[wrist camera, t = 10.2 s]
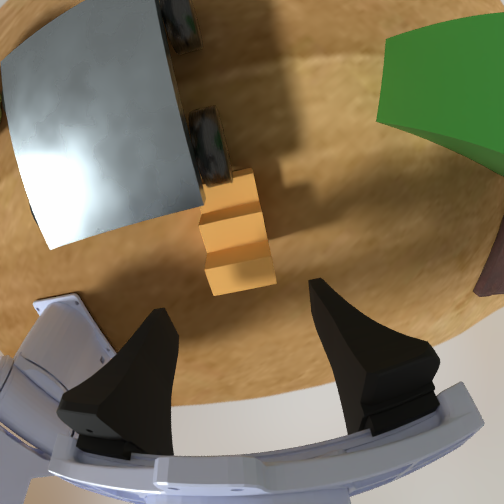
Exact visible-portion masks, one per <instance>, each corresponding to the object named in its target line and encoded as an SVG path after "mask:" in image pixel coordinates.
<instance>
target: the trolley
mask: <svg viewBox="0 0 504 504" xmlns="http://www.w3.org/2000/svg"><path fill="white" fill-rule="evenodd" d="M159 1H160V3H159ZM162 17H163V18H162ZM163 21H164V23H163ZM164 24H165V28H166V31H167V34H168V36H169V39H170V41H171V44H172V46H173V48H174V50H175V51H176V53H177V54H178V55H181V54H184V53H188V52H191V51H195V50H199V49H203V43H202V37H201V32H200V28H199V24H198V19H197V16H196V12H195V8H194V5H193V1H192V0H85V1H83V2H81V3H80V4H78V5H76V6H75V7H73V8H71V9H70V10H68V11H66V12H65V13H63V14H61V15H60V16H58V17H57V18H55V19H54V20H52V21H51V22H49V23H48V24H47V25H45V26H44V27H42V28H41V29H40V30H38V31H37V32H36V33H34V34H33V35H32V36H30V37H29V38H28V39H27V40H25V41H24V42H23V43H22V44H20V45H19V46H18V47H17V48H16V49H14V50H13V51H12V52H11V53H10V54H9V55H8V56H7V57H5V58H4V59H3V60H2V61H1V75H2V86H3V90H2V104H3V108H4V111H5V113H6V115H7V120H8V126H9V130H10V135H11V140H12V144H13V148H14V152H15V156H16V159H17V163H18V167H19V170H20V173H21V177H22V180H23V183H24V186H25V189H26V192H27V195H28V197H29V203H30V209H31V212H32V215H33V217H34V219H35V221H36V223H37V224H38V226H39V227H40V228H41V230H42V233H43V235H44V237H45V239H46V242H47V244H48V246H49V248H50V250H51V249H54V248H57V247H60V246H63V245H66V244H69V243H72V242H75V241H78V240H81V239H84V238H87V237H90V236H94V235H97V234H100V233H103V232H107V231H110V230H113V229H117V228H120V227H124V226H127V225H131V224H134V223H138V222H141V221H145V220H149V219H152V218H156V217H160V216H164V215H167V214H171V213H175V212H179V211H183V210H187V209H191V208H195V207H199V206H204V204H205V201H206V196H205V192H204V188H203V185H202V181H201V177H200V174H201V176H202V179H203V181H204V183H205V185H206V186H207V187H208V188H211V187H215V186H219V185H224V184H228V183H232V182H233V174H232V168H231V163H230V157H229V153H228V148H227V143H226V139H225V135H224V131H223V127H222V123H221V120H220V116H219V113H218V110H217V107H216V105H214V106H210V107H206V108H202V109H198V110H194V111H191V112H190V113H189V129H190V135H189V131H188V127H187V123H186V119H185V115H184V111H183V107H182V103H181V99H180V95H179V90H178V86H177V82H176V78H175V73H174V69H173V65H172V60H171V56H170V51H169V47H168V42H167V37H166V33H165V28H164ZM190 136H191V139H190ZM191 141H192V143H191ZM192 146H193V147H192ZM197 165H198V166H197ZM198 168H199V170H198ZM199 171H200V174H199Z"/></svg>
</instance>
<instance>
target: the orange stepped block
mask: <svg viewBox="0 0 504 504" xmlns="http://www.w3.org/2000/svg"><path fill="white" fill-rule="evenodd" d="M232 174H233V182H232V183H228V184H224V185H219V186H215V187H211V188H208V187H207V186H206V185H205V183H204V181H203V179H201V181H202V185H203V188H204V192H205V196H206V201H205V204H204V206H200V209H201V213H202V215H201V219H200V222H199V229H200V232H201V235H202V239H203V242H204V245H205V248H206V251H207V257H206V263H205V269H204V270H205V273H206V276H207V279H208V281H209V284H210V287H211V290H212V293H213V295H214V296H216V295H222V294H227V293H232V292H237V291H243V290H248V289H253V288H258V287H263V286H268V285H272V284H277V282H276V277H275V271H274V266H273V261H272V256H271V252H270V248H269V243H268V239H267V234H266V229H265V224H264V219H263V214H262V210H261V206H260V202H259V198H258V193H257V188H256V184H255V179H254V174H253V171H252V168H247V169H243V170H238V171H234V172H232Z"/></svg>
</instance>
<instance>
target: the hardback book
mask: <svg viewBox="0 0 504 504" xmlns="http://www.w3.org/2000/svg"><path fill="white" fill-rule="evenodd" d="M376 122H379V123H382V124H385V125H388V126H391V127H394V128H397V129H400V130H403V131H406V132H409V133H411V134H414V135H417V136H419V137H422V138H424V139H427V140H429V141H432V142H434V143H436V144H439V145H441V146H443V147H446V148H448V149H450V150H452V151H455V152H457V153H459V154H461V155H463V156H465V157H467V158H469V159H471V160H473V161H475V162H477V163H479V164H481V165H483V166H485V167H486V168H488V169H490V170H492V171H494V172H495V173H497V174H499V175H501V176H504V12H501V13H492V14H484V15H477V16H471V17H465V18H460V19H455V20H450V21H446V22H441V23H437V24H433V25H430V26H426V27H422V28H419V29H415V30H412V31H409V32H406V33H402V34H399V35H396V36H393V37H391V38H388V39H386V44H385V57H384V67H383V76H382V85H381V92H380V100H379V107H378V113H377V119H376Z"/></svg>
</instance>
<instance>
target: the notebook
mask: <svg viewBox="0 0 504 504" xmlns="http://www.w3.org/2000/svg"><path fill="white" fill-rule="evenodd" d="M473 292H474V293H475V294H476V295H478V296H479V297H484V296H491V295H495V294H504V217H503V220H502V223H501V226H500V229H499V231H498V234H497V237H496V240H495V242H494V245H493V247H492V250H491V252H490V255H489V257H488V260H487V262H486V264H485V266H484V269H483V271H482V273H481V275H480V277H479V280H478V282H477V284H476V286H475V288H474V290H473Z"/></svg>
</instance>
